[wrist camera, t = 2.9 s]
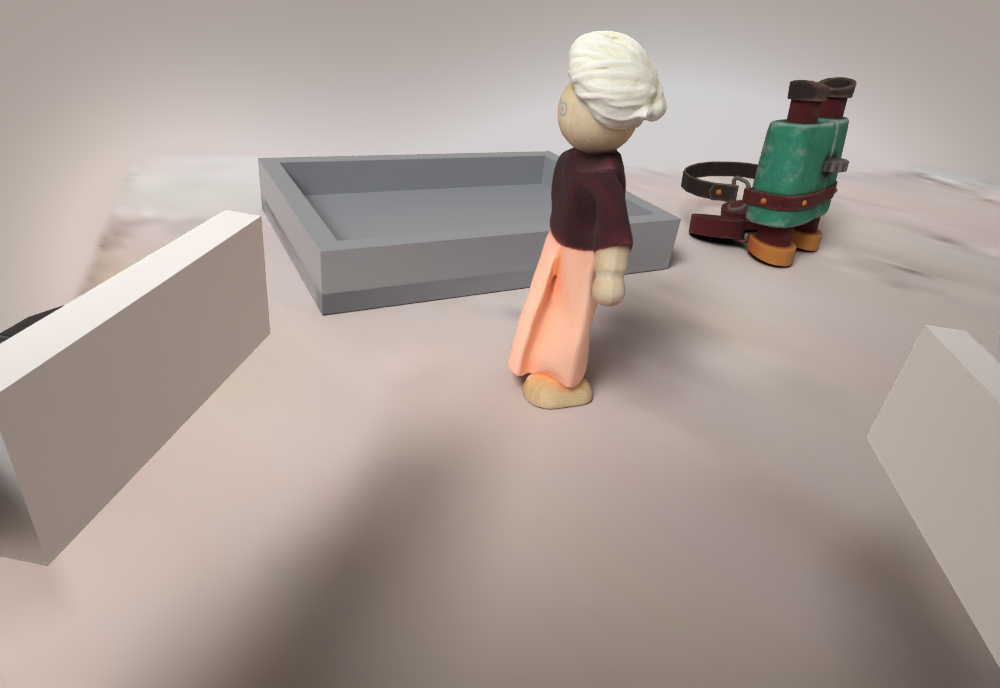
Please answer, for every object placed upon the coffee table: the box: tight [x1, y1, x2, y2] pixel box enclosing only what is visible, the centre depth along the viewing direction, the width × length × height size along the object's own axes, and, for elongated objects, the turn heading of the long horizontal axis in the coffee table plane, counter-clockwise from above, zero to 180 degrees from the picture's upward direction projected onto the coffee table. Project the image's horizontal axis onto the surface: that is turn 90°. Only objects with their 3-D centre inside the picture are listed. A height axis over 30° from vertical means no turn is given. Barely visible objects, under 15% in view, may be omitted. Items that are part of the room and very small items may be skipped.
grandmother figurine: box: [507, 31, 667, 409], centre depth 22 cm, size 8×4×13 cm, turn 18°
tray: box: [258, 151, 681, 315], centre depth 37 cm, size 20×14×3 cm
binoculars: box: [681, 77, 856, 266], centre depth 41 cm, size 9×11×10 cm
